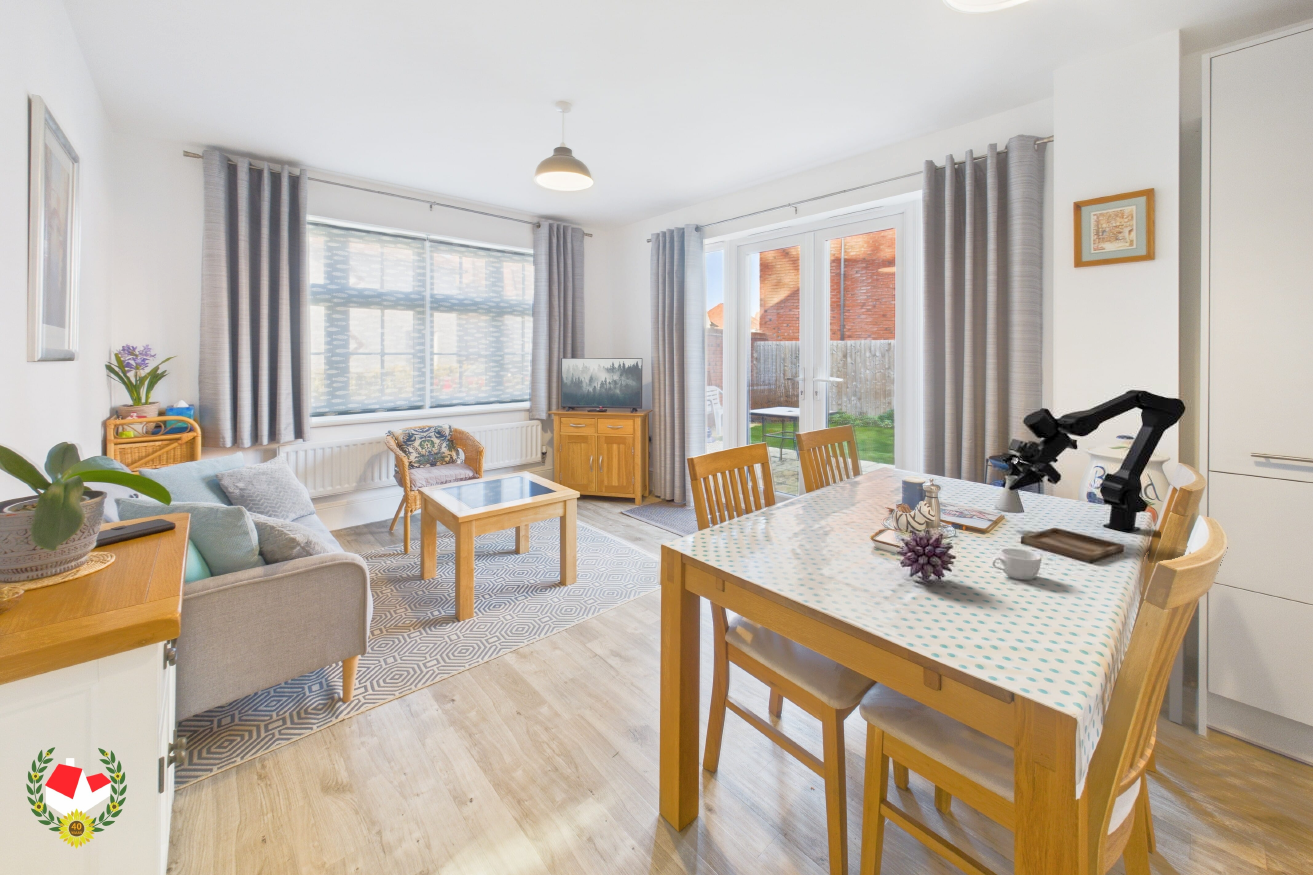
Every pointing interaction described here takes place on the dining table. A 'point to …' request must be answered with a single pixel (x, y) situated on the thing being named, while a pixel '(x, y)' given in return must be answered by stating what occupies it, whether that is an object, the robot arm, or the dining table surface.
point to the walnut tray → (1072, 545)
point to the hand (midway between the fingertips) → (1006, 487)
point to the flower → (926, 554)
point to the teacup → (1019, 563)
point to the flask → (1009, 498)
